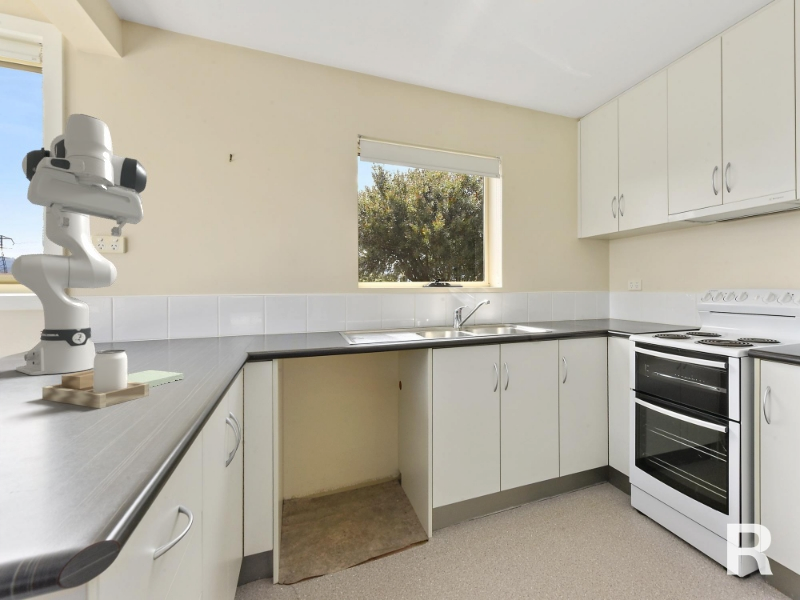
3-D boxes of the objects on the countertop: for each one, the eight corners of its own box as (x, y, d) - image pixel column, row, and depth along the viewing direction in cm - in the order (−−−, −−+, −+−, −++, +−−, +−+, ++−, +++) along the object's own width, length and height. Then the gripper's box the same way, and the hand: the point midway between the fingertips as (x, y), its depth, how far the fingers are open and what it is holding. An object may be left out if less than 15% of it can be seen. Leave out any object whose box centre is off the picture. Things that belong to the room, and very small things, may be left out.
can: (107, 404, 83) (108, 353, 82) (86, 401, 84) (86, 352, 84) (133, 396, 89) (134, 350, 89) (113, 394, 90) (113, 348, 90)
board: (102, 385, 99) (102, 379, 99) (150, 375, 112) (150, 369, 112) (137, 390, 94) (137, 383, 94) (183, 379, 108) (183, 373, 108)
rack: (42, 399, 85) (42, 387, 85) (94, 387, 96) (94, 377, 96) (100, 408, 79) (100, 395, 79) (149, 395, 90) (149, 383, 90)
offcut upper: (61, 387, 86) (61, 375, 86) (89, 381, 93) (89, 370, 93) (79, 388, 86) (80, 376, 86) (106, 382, 92) (106, 371, 92)
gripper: (136, 196, 93) (138, 244, 90) (25, 168, 76) (24, 226, 73) (146, 186, 89) (149, 235, 87) (33, 154, 72) (32, 214, 70)
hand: (91, 231), depth 80 cm, fingers open, 8 cm apart
